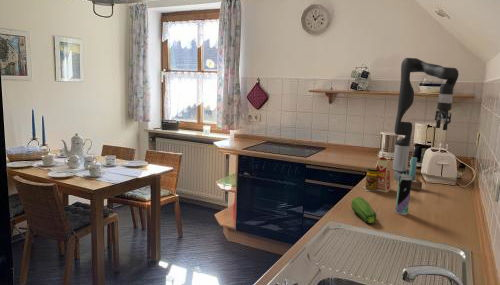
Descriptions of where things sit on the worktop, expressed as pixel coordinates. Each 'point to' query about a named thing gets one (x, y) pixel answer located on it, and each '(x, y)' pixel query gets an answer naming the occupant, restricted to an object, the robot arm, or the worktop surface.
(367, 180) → the condiment
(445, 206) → the worktop surface
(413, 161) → the light blue flat panel
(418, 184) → the socket
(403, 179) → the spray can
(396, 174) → the sleeve
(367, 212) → the vegetable
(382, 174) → the milk carton
